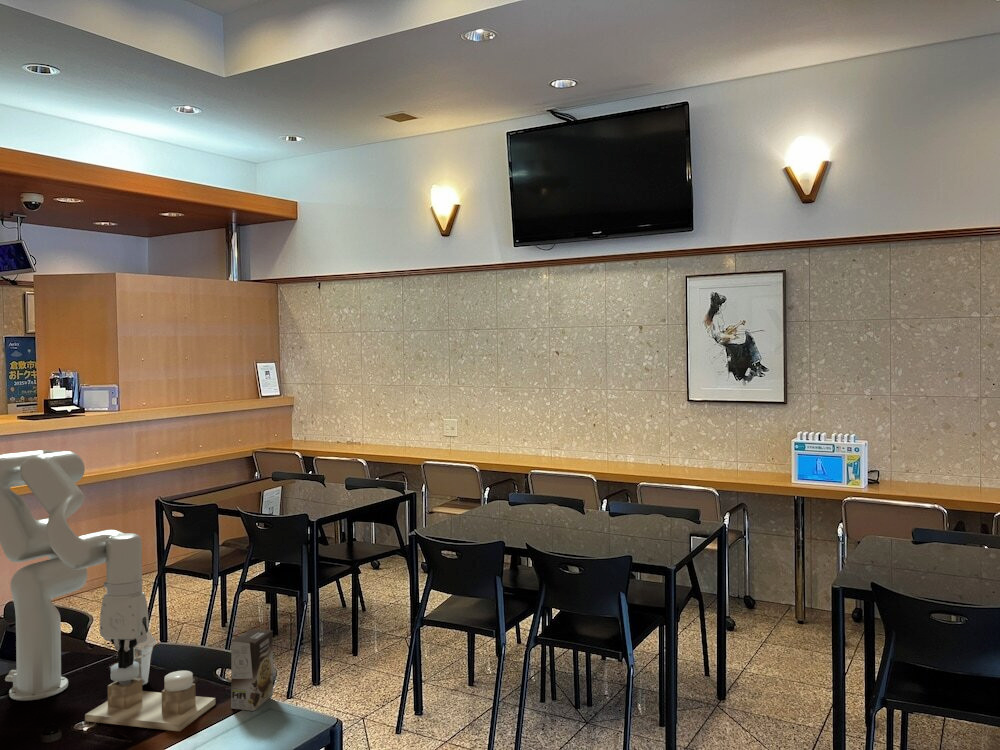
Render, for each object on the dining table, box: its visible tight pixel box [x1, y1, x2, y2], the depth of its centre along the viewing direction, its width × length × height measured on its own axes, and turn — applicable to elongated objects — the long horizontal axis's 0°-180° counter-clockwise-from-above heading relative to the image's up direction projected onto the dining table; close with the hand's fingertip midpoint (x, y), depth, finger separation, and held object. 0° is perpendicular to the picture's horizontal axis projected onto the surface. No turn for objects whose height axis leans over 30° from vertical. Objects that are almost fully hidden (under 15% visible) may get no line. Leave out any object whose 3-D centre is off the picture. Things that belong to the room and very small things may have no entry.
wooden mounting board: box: [84, 678, 216, 732], centre depth 183 cm, size 24×14×6 cm, turn 78°
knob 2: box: [164, 670, 194, 692], centre depth 181 cm, size 6×6×8 cm
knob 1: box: [110, 661, 139, 685], centre depth 184 cm, size 6×6×8 cm
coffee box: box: [230, 628, 274, 712], centre depth 188 cm, size 9×6×16 cm
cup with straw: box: [134, 630, 157, 686], centre depth 199 cm, size 8×9×20 cm
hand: (125, 665), depth 184 cm, fingers closed
